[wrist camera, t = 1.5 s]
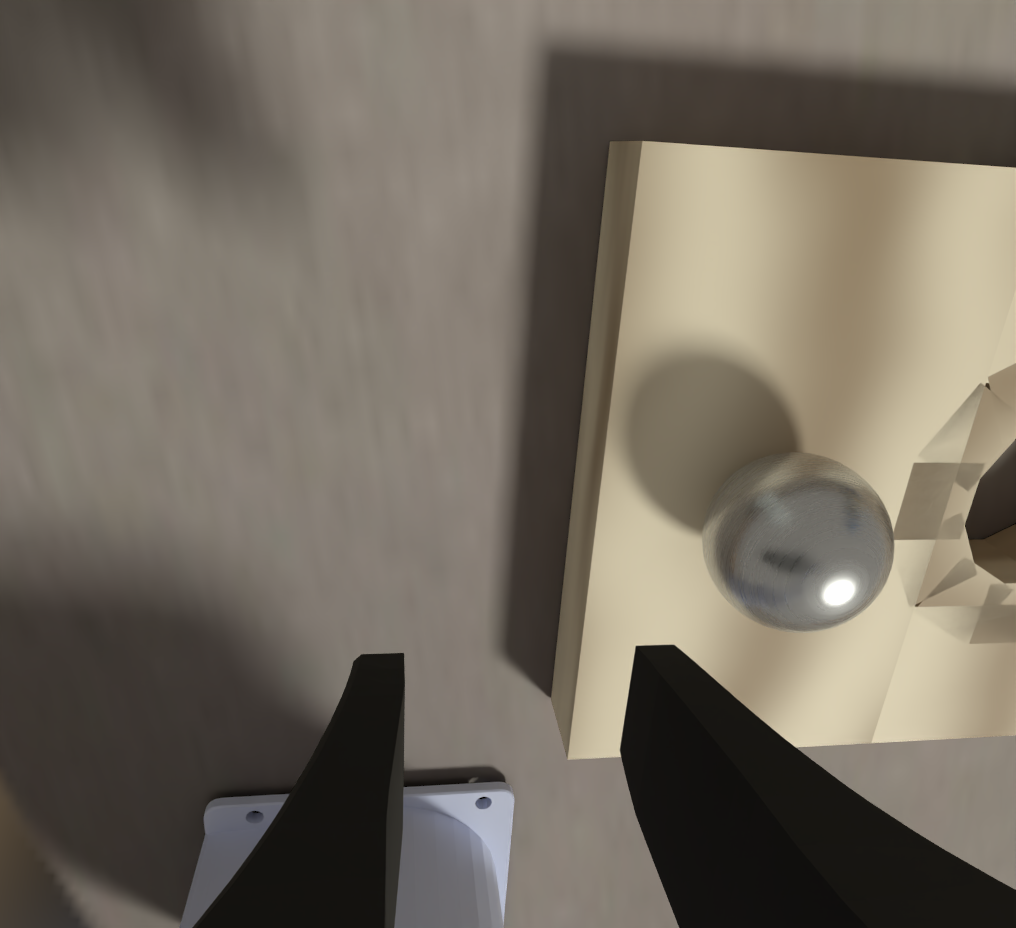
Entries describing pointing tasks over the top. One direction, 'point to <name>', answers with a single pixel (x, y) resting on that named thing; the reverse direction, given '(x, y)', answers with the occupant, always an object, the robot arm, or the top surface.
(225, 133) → the top surface
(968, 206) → the hole plate
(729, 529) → the steel ball
